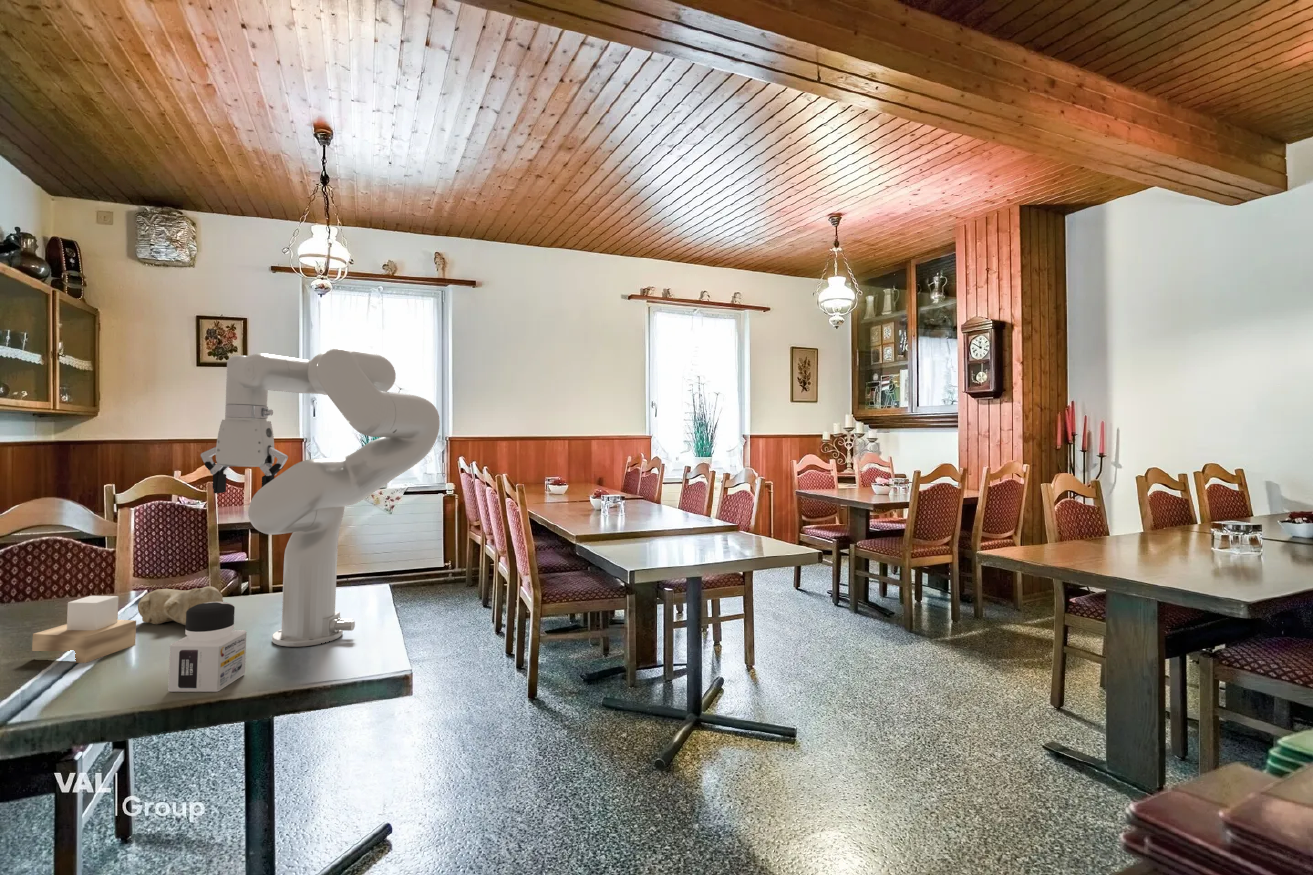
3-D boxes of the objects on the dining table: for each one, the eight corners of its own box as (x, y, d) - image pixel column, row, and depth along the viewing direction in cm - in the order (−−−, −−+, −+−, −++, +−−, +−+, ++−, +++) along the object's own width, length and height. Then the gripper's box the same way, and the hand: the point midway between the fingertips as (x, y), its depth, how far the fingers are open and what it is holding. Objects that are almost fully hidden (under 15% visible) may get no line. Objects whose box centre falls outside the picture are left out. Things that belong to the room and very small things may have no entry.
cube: (117, 622, 119) (118, 596, 119) (95, 630, 114) (97, 602, 114) (89, 622, 119) (90, 595, 119) (66, 629, 114) (67, 602, 114)
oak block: (135, 646, 121) (136, 620, 121) (85, 664, 111) (86, 636, 111) (85, 643, 121) (86, 618, 121) (31, 661, 111) (32, 633, 111)
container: (218, 692, 100) (221, 611, 100) (166, 692, 99) (170, 610, 100) (245, 674, 108) (248, 598, 108) (198, 674, 107) (201, 598, 107)
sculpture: (175, 622, 125) (210, 579, 131) (118, 610, 131) (155, 569, 137) (206, 642, 131) (238, 600, 138) (151, 630, 137) (185, 589, 143)
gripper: (296, 416, 139) (293, 493, 139) (214, 413, 138) (211, 491, 138) (279, 414, 132) (276, 496, 132) (192, 411, 130) (189, 494, 130)
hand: (243, 493), depth 135 cm, fingers open, 9 cm apart
